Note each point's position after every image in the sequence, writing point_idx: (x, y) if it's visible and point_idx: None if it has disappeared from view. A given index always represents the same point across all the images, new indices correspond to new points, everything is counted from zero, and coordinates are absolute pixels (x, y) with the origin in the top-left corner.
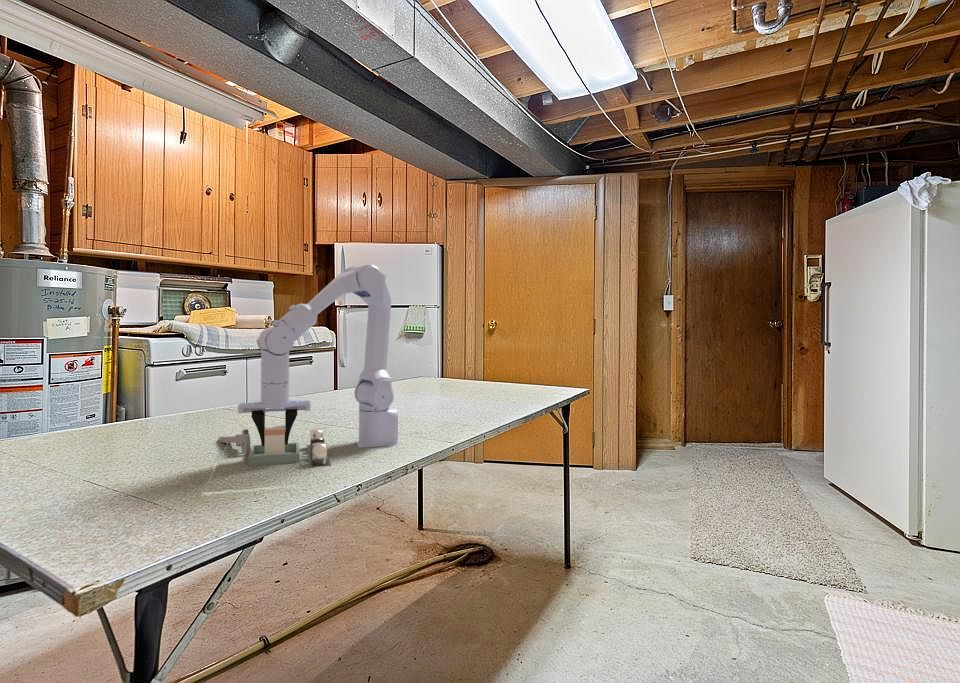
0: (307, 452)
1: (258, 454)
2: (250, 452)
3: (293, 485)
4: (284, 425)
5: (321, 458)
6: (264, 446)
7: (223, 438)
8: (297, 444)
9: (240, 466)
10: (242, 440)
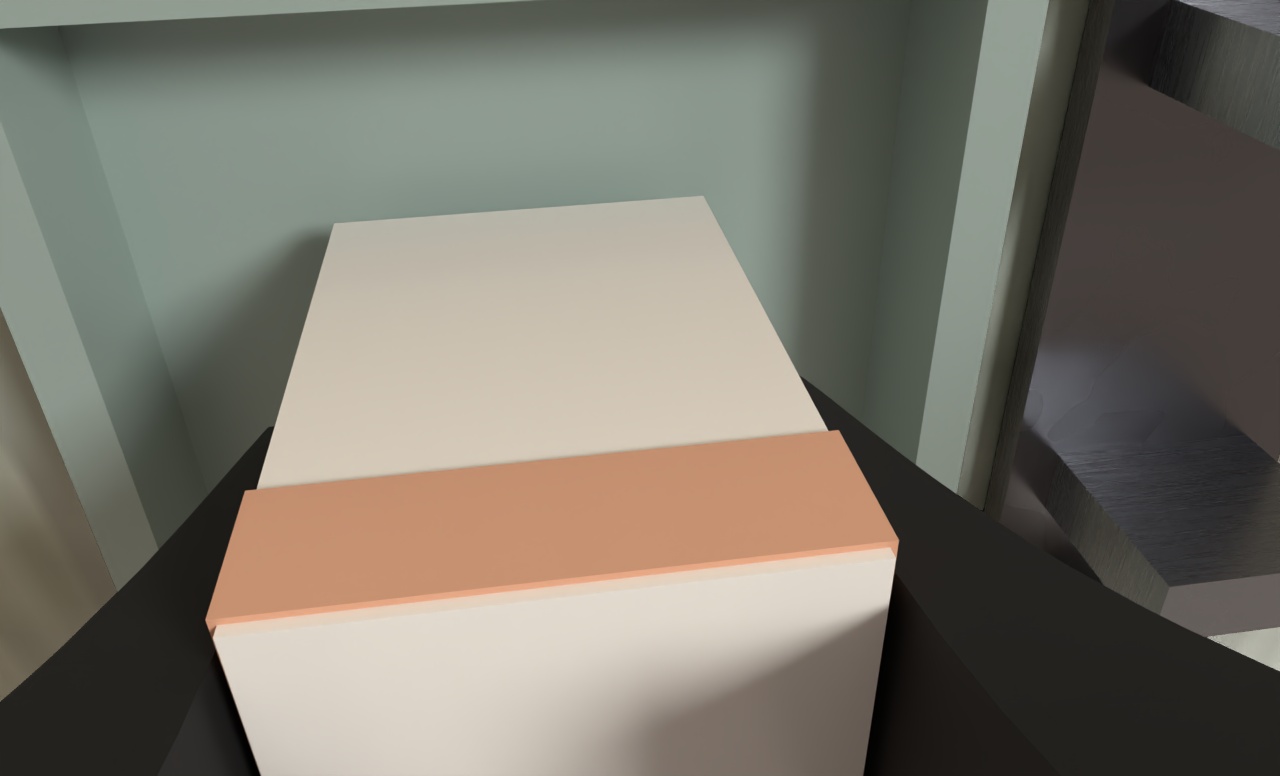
0: (1089, 110)
1: (164, 83)
2: (125, 569)
3: None
4: (873, 625)
5: None
6: (233, 14)
7: None
8: (994, 114)
9: (81, 573)
10: None
